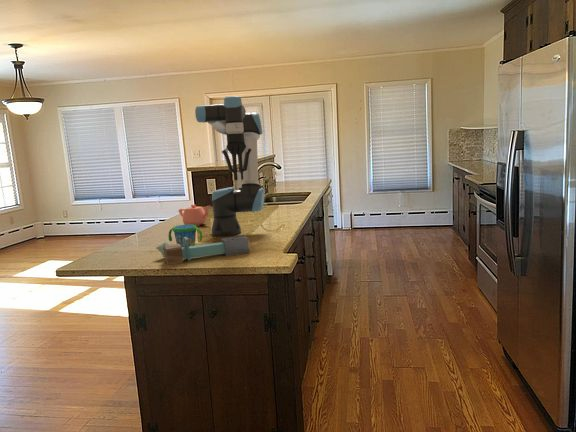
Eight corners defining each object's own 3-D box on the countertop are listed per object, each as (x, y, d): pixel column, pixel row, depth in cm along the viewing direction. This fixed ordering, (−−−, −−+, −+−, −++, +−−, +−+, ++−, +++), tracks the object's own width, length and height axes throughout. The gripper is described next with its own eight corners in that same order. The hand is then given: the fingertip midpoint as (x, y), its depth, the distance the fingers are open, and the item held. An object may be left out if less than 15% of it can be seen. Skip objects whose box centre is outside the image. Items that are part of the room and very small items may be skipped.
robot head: (156, 259, 193) (154, 243, 191) (159, 256, 197) (158, 241, 195) (174, 258, 192) (172, 242, 190) (177, 256, 196) (176, 240, 194)
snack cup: (207, 245, 212) (205, 224, 210) (196, 251, 202) (194, 228, 200) (177, 245, 217) (175, 224, 215) (165, 250, 207) (162, 228, 205)
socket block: (166, 260, 189) (164, 245, 188) (180, 258, 191) (179, 243, 190) (167, 264, 182) (166, 248, 181) (183, 262, 184) (181, 246, 183)
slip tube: (172, 259, 189) (170, 238, 188) (229, 251, 197) (227, 231, 196) (174, 262, 183) (171, 241, 182) (232, 254, 191) (231, 233, 190)
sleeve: (222, 252, 196) (221, 238, 195) (245, 249, 200) (244, 235, 199) (226, 256, 190) (224, 241, 189) (249, 252, 194) (248, 237, 192)
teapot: (208, 227, 261) (206, 205, 259) (175, 227, 265) (173, 207, 263) (216, 222, 274) (214, 202, 272) (184, 223, 277) (182, 203, 276)
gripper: (222, 133, 194) (226, 189, 197) (252, 132, 198) (256, 186, 202) (218, 134, 201) (223, 188, 204) (247, 132, 205) (251, 185, 209)
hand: (239, 187), depth 203 cm, fingers closed
